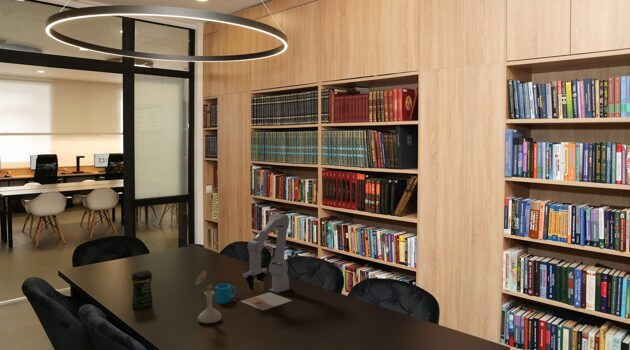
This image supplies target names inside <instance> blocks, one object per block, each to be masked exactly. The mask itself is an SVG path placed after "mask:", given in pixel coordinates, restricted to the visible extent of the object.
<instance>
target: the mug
mask: <svg viewBox="0 0 630 350" xmlns="http://www.w3.org/2000/svg"><path fill="white" fill-rule="evenodd" d="M232 289H233V290H234V291H233V292H234V293H233V294H232ZM236 294H237V288H236V287H235V286H234V285H231V284H230V283H219V284H216V286H215V303H217V304H219V305H220V304H221V305H223V304H224V305H225V304H228V302H231V300H232V299H233V298H234V297H235V296H236Z"/></svg>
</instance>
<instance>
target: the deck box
mask: <svg viewBox="0 0 630 350" xmlns="http://www.w3.org/2000/svg"><path fill="white" fill-rule="evenodd" d="M246 291H249V292H251V293H255V294H258V293H259V294H260V293H262V292H264V291H265V281H264V280H263V281H260V280H257V278H254V282H253V290H251V289H250V288H249V285H248V282H247V281H246Z"/></svg>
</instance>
